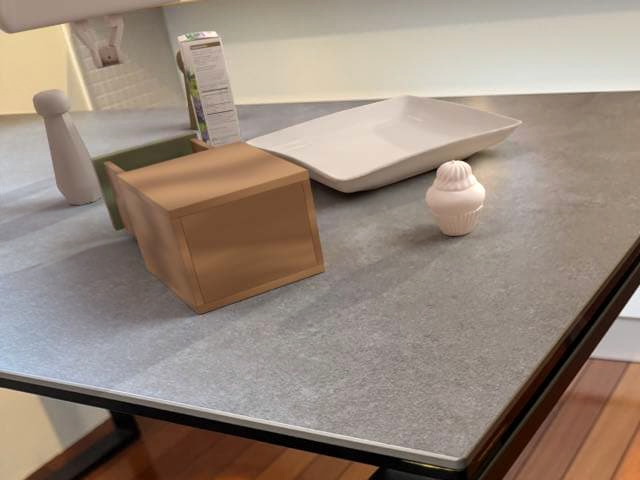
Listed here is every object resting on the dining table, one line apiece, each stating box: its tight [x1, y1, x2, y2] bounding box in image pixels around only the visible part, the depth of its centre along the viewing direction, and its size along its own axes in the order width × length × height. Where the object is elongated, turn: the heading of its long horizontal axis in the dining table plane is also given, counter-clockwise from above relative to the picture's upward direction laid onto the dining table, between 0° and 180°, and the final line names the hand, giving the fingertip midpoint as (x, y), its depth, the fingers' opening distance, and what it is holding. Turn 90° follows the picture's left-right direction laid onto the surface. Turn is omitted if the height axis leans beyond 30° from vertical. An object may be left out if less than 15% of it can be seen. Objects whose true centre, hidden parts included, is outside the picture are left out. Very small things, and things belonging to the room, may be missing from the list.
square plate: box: [244, 94, 523, 194], centre depth 106 cm, size 27×27×4 cm
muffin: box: [425, 160, 486, 237], centre depth 82 cm, size 6×6×7 cm
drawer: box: [90, 130, 216, 240], centre depth 91 cm, size 19×12×8 cm, turn 32°
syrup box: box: [176, 30, 243, 147], centre depth 116 cm, size 6×6×14 cm
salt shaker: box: [32, 88, 103, 206], centre depth 103 cm, size 6×6×13 cm
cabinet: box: [116, 140, 326, 315], centre depth 80 cm, size 16×14×10 cm
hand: (109, 65), depth 89 cm, fingers closed
